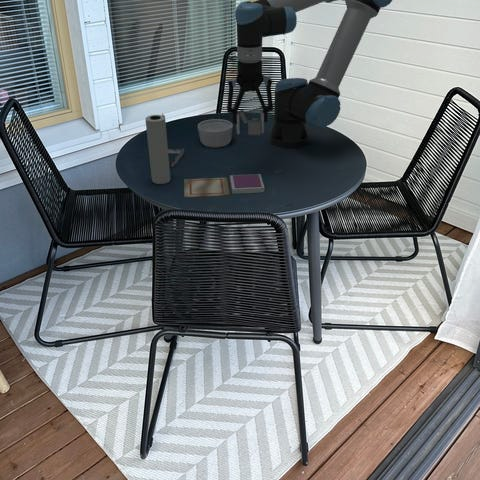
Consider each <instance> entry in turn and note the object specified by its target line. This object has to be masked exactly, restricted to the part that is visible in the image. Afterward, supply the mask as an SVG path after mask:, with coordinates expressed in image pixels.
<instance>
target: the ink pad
mask: <svg viewBox="0 0 480 480" xmlns="http://www.w3.org/2000/svg"><path fill="white" fill-rule="evenodd" d="M263 181H264V180H263V178H262V174H261V173H255V174H233V175H229V182H230V187H231V193H232V195H236V194H237V195H238V194H240V195H241V194H257V193H258V194H259V193H265V185H264V182H263Z"/></svg>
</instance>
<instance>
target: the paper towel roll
mask: <svg viewBox="0 0 480 480" xmlns="http://www.w3.org/2000/svg"><path fill="white" fill-rule="evenodd" d="M166 124H167V123H166V116H165V114H163V112H162V113H161V114H153V115H152V114H151V115H148V116H146V117H145V127H146V136H147V137H146V138H147V139H146V140H147V145H148V146H147V147H148V154H149V155H148V156H149V164H150V174H151V176H150V177H151V181H152V183H154V184H157V185H164V184H165V185H166V184H168V183H169V182H170V181H171V172H170V171H171V170H170V168H171V167H169V162H170V158H169V153H168V149H169V147H168V137H167V136H168V135H167V133H168V132H167V125H166Z"/></svg>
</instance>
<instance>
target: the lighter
mask: <svg viewBox="0 0 480 480" xmlns="http://www.w3.org/2000/svg"><path fill="white" fill-rule="evenodd" d="M238 112H239V117H240V118H241V120H242V122H243V124H244V125H245V124H247V123H248V124H247V131H248V132H247V135H248V136H261V135H262V133H261V120H260V118H258V117H251V120H249V119H248V117H247V115H246V112H245V111H244V109H241V110H238Z"/></svg>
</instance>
